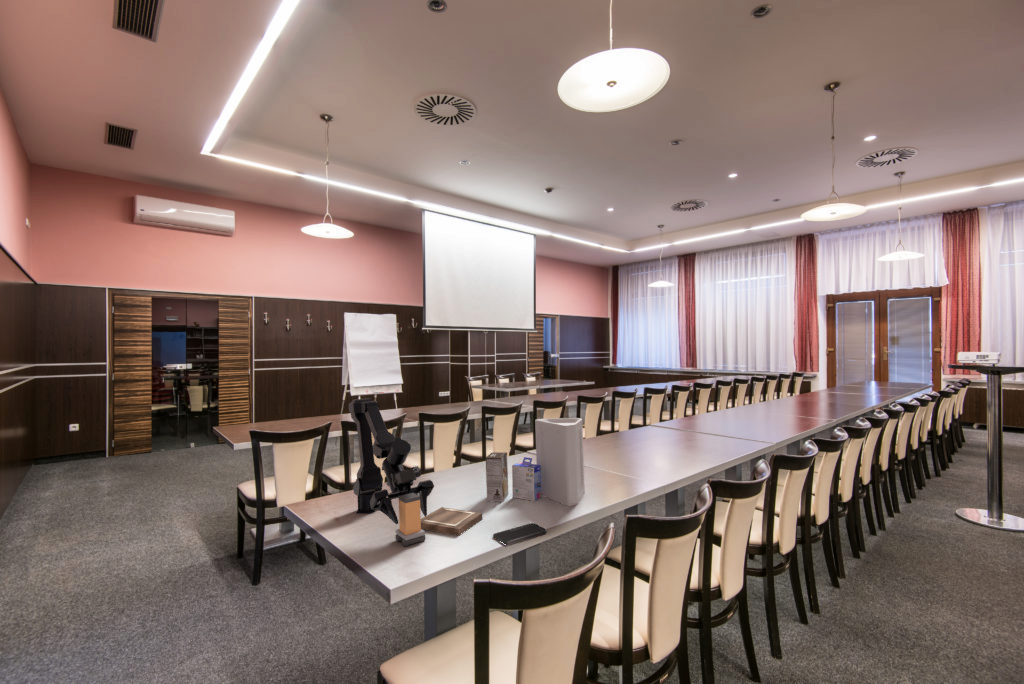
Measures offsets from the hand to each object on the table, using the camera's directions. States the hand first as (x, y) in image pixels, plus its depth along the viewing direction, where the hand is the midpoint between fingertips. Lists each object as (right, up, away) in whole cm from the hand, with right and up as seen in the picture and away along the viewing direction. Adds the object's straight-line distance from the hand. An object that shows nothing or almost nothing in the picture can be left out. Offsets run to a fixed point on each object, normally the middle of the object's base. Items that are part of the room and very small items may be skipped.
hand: (411, 519), depth 131 cm
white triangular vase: (+50, -6, +38) cm, 63 cm away
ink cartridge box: (+35, -7, +37) cm, 51 cm away
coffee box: (+24, -7, +37) cm, 45 cm away
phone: (+32, -6, +3) cm, 32 cm away
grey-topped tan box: (-1, -7, +1) cm, 7 cm away
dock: (+9, -7, +13) cm, 18 cm away
